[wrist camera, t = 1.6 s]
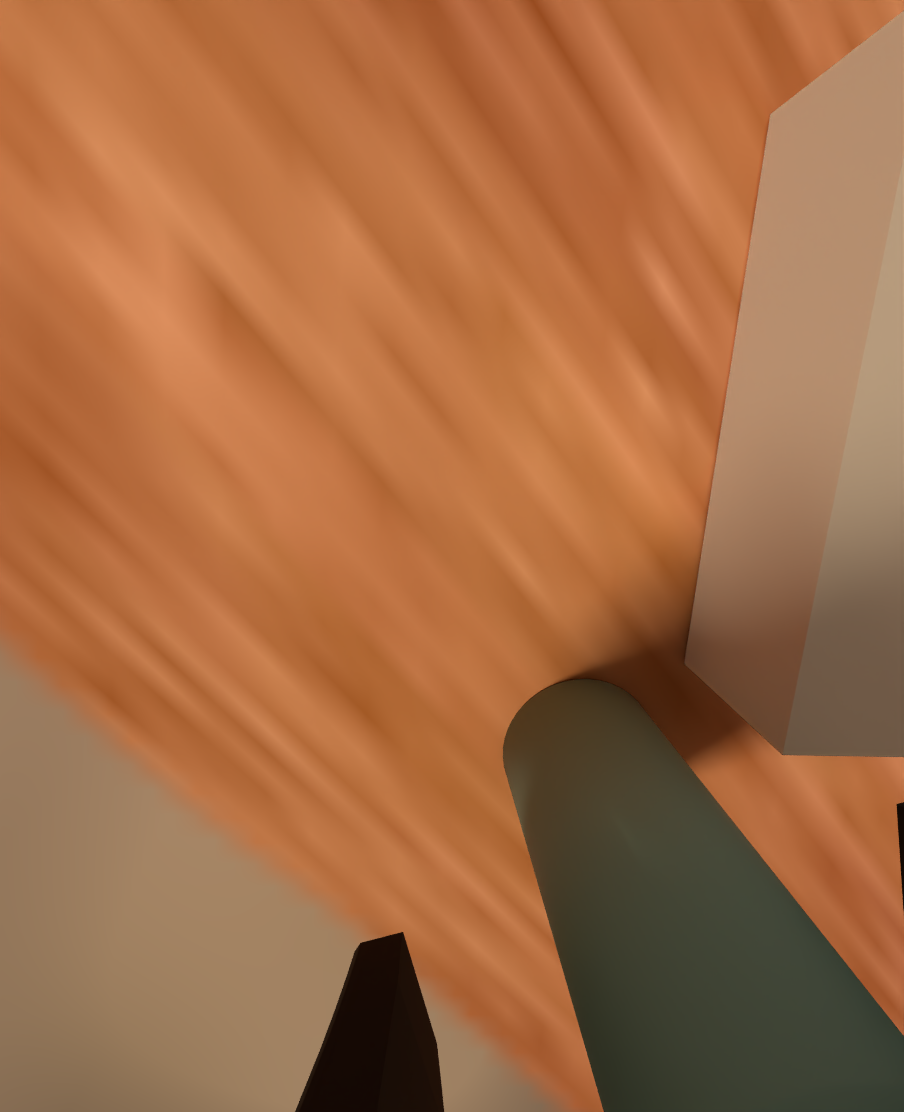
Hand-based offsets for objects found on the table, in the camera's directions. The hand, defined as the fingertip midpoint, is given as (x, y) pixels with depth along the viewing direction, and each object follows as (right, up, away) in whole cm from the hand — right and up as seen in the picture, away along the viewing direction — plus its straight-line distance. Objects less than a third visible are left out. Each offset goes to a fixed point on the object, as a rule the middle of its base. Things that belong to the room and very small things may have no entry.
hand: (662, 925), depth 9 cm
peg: (0, +1, +4) cm, 5 cm away
